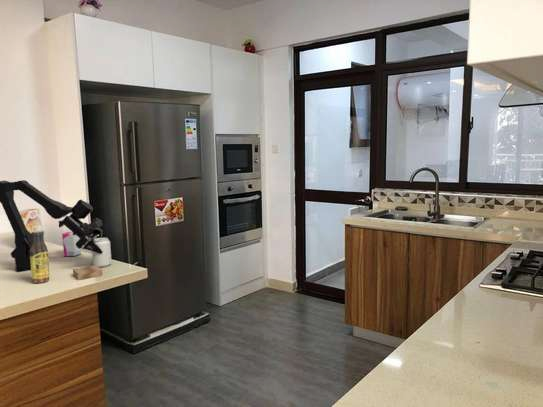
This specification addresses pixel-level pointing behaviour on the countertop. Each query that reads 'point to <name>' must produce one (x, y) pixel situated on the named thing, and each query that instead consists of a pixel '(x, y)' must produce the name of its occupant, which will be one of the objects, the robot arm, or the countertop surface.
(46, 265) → the sauce bottle
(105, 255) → the can
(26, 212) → the coffeecake box
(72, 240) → the supplement box
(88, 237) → the robot arm
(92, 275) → the walnut plinth
